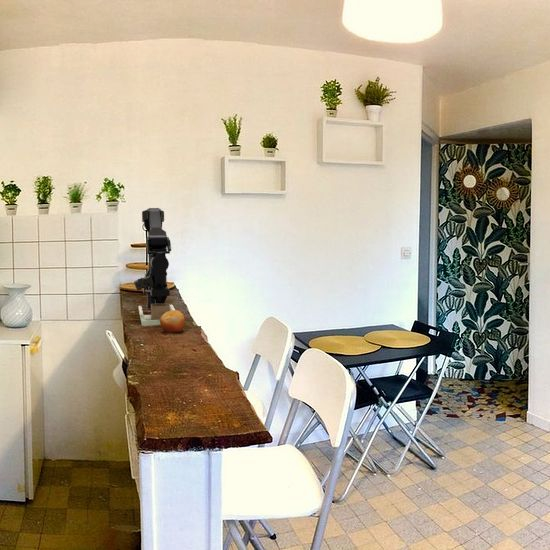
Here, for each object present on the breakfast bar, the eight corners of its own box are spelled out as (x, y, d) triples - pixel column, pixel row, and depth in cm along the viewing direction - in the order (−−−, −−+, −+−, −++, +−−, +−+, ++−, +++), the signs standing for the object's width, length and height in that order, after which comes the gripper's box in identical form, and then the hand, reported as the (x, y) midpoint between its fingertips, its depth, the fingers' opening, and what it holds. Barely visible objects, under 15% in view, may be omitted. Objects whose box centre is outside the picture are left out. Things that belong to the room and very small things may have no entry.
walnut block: (151, 320, 182) (150, 303, 181) (168, 319, 183) (168, 302, 183) (152, 323, 176) (151, 306, 175) (169, 322, 178) (169, 305, 177)
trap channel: (138, 312, 201) (138, 306, 201) (172, 310, 205) (172, 304, 205) (142, 328, 173) (141, 321, 172) (180, 325, 177) (180, 319, 176)
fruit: (189, 323, 173) (186, 306, 168) (184, 340, 167) (180, 322, 162) (166, 323, 174) (162, 305, 169) (160, 339, 168) (155, 321, 163)
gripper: (134, 267, 189) (135, 308, 191) (135, 272, 171) (136, 318, 173) (164, 266, 192) (165, 307, 194) (169, 272, 174) (170, 316, 176)
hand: (159, 312), depth 184 cm, fingers closed
